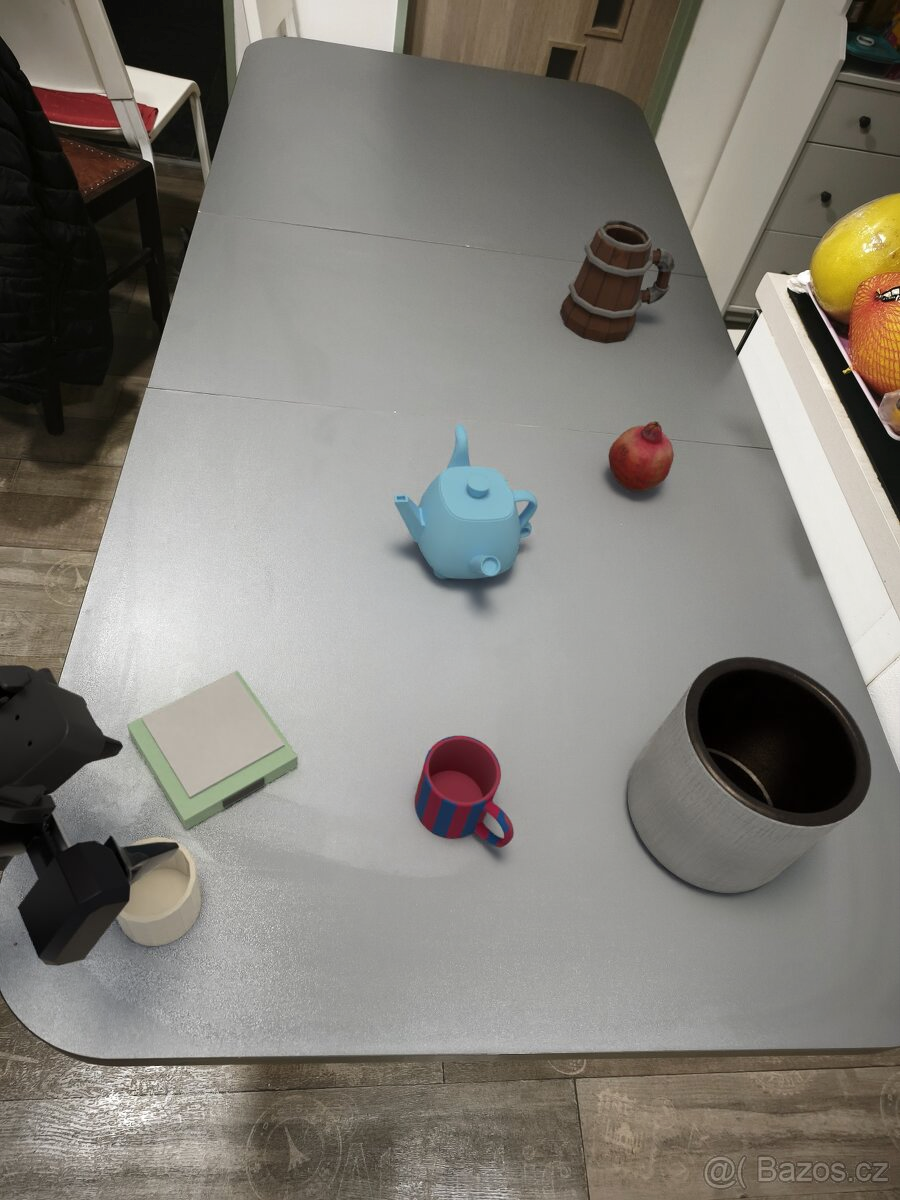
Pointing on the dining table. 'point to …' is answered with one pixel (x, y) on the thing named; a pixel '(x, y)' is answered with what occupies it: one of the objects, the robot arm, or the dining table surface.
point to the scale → (212, 748)
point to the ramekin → (163, 900)
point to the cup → (461, 790)
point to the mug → (614, 282)
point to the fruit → (641, 457)
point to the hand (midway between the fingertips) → (146, 797)
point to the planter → (747, 775)
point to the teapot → (468, 518)
